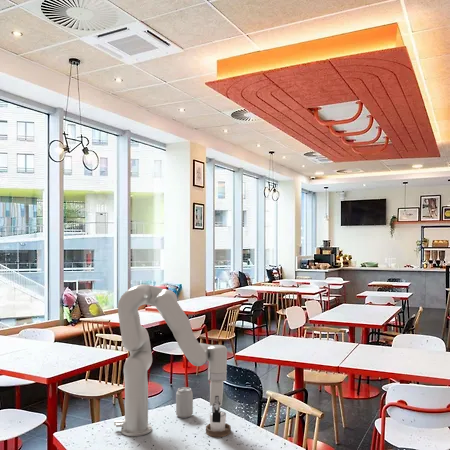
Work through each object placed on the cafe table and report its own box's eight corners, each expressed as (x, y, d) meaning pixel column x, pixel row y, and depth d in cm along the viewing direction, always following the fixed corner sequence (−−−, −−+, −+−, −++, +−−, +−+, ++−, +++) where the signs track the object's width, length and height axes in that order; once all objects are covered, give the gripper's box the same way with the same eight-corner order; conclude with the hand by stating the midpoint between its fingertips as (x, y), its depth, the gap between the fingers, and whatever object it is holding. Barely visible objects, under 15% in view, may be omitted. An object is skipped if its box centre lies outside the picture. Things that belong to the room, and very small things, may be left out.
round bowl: (205, 437, 195) (205, 432, 195) (206, 427, 205) (206, 422, 205) (231, 436, 195) (231, 431, 195) (230, 427, 206) (230, 422, 206)
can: (173, 417, 217) (173, 390, 218) (179, 412, 224) (179, 385, 225) (189, 419, 215) (189, 391, 216) (194, 413, 223) (194, 387, 223)
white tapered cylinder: (225, 427, 204) (225, 410, 204) (226, 433, 197) (226, 416, 197) (209, 427, 203) (209, 410, 204) (209, 434, 197) (209, 416, 197)
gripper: (208, 370, 210) (207, 410, 209) (208, 381, 192) (206, 425, 192) (225, 370, 210) (224, 410, 209) (227, 382, 193) (225, 425, 192)
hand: (216, 417), depth 201 cm, fingers open, 9 cm apart
